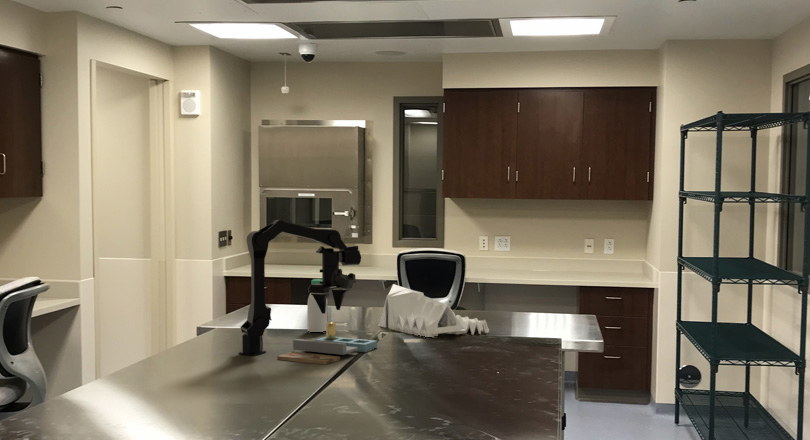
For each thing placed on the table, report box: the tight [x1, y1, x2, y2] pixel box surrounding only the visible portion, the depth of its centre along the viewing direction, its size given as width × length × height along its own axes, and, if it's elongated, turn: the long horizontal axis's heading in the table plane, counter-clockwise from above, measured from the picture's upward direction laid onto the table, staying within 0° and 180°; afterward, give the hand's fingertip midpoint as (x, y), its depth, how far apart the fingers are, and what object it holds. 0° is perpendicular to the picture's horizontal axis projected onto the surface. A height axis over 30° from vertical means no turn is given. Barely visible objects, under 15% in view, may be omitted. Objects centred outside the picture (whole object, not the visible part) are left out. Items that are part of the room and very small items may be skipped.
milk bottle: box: [306, 278, 329, 333], centre depth 278 cm, size 8×8×20 cm
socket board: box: [314, 336, 378, 353], centre depth 245 cm, size 8×20×2 cm, turn 63°
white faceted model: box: [377, 283, 490, 338], centre depth 284 cm, size 41×27×17 cm, turn 34°
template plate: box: [276, 351, 341, 366], centre depth 226 cm, size 8×18×1 cm, turn 63°
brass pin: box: [325, 321, 337, 340], centre depth 248 cm, size 3×3×8 cm
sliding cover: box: [292, 338, 358, 356], centre depth 234 cm, size 9×19×3 cm, turn 63°
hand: (330, 311), depth 248 cm, fingers open, 9 cm apart
